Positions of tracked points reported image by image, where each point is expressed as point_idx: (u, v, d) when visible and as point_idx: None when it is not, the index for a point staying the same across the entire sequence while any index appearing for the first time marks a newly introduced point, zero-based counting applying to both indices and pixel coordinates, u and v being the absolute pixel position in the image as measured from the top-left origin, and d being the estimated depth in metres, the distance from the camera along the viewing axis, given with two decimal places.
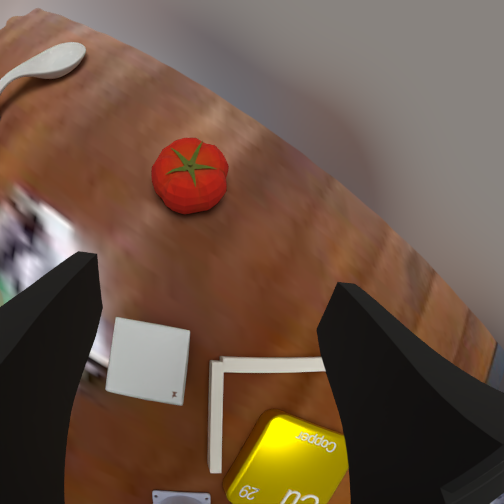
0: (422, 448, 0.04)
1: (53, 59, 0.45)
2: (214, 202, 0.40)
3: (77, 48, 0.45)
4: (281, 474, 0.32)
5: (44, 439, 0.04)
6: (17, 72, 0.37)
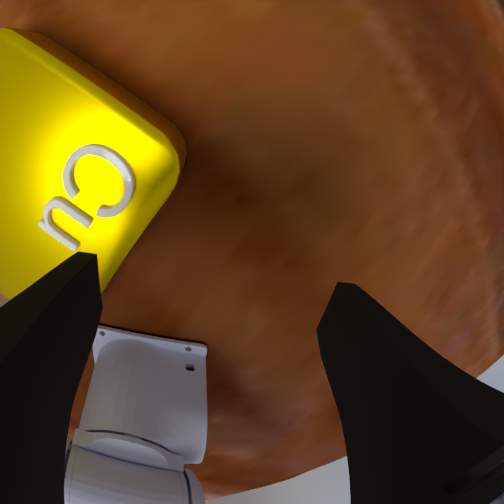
0: (422, 448, 0.04)
1: None
2: None
3: None
4: (6, 233, 0.13)
5: (44, 439, 0.04)
6: None
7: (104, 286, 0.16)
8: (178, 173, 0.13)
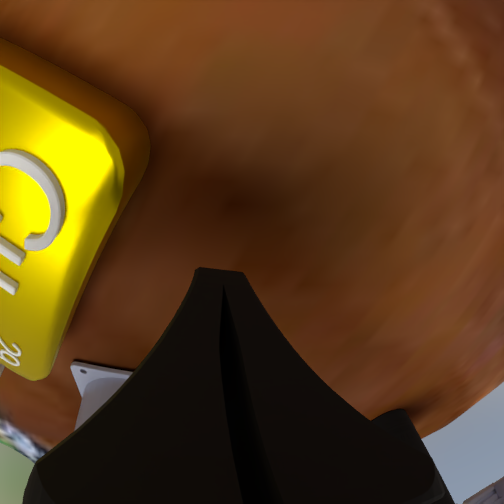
0: (244, 479, 0.04)
1: None
2: None
3: None
4: None
5: None
6: None
7: (61, 332, 0.11)
8: (123, 177, 0.08)
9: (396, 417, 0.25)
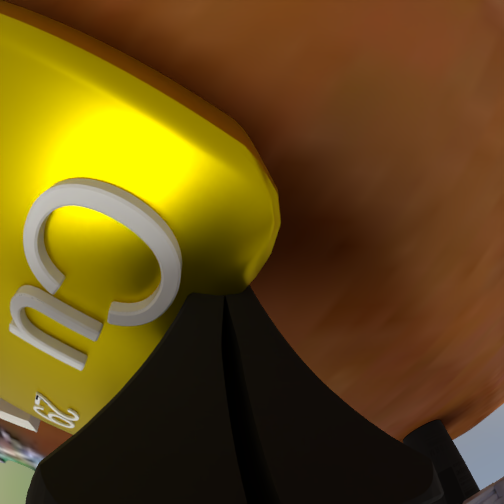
0: (242, 479, 0.04)
1: None
2: None
3: None
4: None
5: None
6: None
7: None
8: (277, 231, 0.06)
9: (434, 428, 0.23)
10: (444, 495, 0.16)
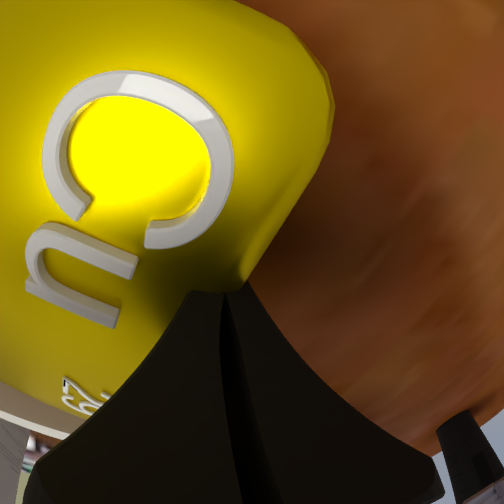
0: (244, 479, 0.04)
1: None
2: None
3: None
4: None
5: None
6: None
7: None
8: (332, 116, 0.05)
9: (465, 418, 0.24)
10: (478, 476, 0.18)
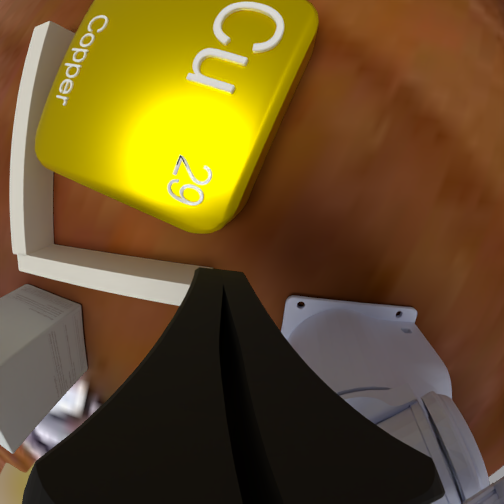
0: (244, 479, 0.04)
1: None
2: None
3: None
4: (142, 109, 0.14)
5: None
6: None
7: (266, 135, 0.14)
8: (317, 15, 0.12)
9: None
10: None
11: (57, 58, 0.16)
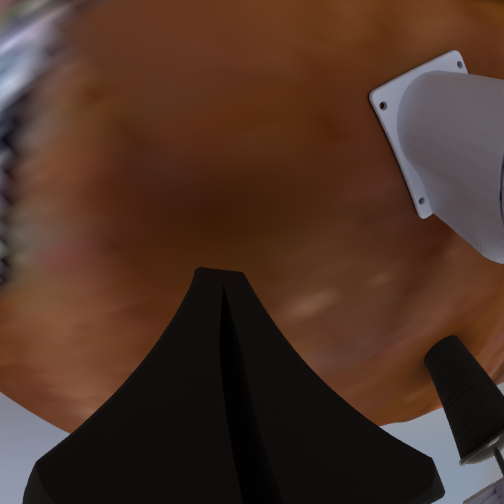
0: (244, 479, 0.04)
1: None
2: None
3: None
4: None
5: None
6: None
7: None
8: None
9: (461, 342, 0.27)
10: (493, 390, 0.20)
11: None
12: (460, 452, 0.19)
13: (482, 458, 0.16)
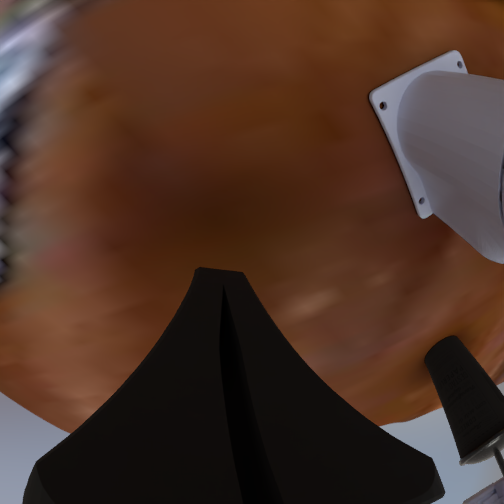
0: (244, 479, 0.04)
1: None
2: None
3: None
4: None
5: None
6: None
7: None
8: None
9: None
10: (493, 390, 0.20)
11: None
12: (460, 452, 0.19)
13: (482, 458, 0.16)
